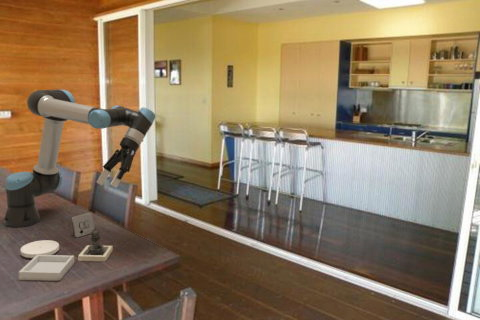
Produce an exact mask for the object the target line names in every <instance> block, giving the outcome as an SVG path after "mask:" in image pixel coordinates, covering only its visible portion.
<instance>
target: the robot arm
mask: <svg viewBox="0 0 480 320" xmlns="http://www.w3.org/2000/svg"><path fill="white" fill-rule="evenodd" d="M26 106H27V109H28V110H29V111H30V112H31V113H32V114H34V115H35V116H40V117H42V118H43V119H44V120H43V126H42V134H41V139H40V145H39V152H38V158H37V164H35V165H33V168H32V172H31V171H21V172H15V173H12V174H10V175H8V176H7V177H6V178H5V191H6V192H5V195H6V205H7V206H6V207H7V208H6V212H5V215H4V218H3V219H4V220H3V223H4V224H3V225H4V226H6V227H8V228H9V227H10V228H23V227H30V226H33V225H35V224H38V223H39V222H40V221H41V218H40V217H41V216H40V213H39V211H38V209H37V206H36V200H35V198H37V197H40V196H43V195H46V194H51V193H53V192H56V191H57V190H59V189H60V188H61V186H62V183H63V177H62V173H61V172H60V169H59V167H57V166H58V165H57V164H58V160H59V159H58V158H59V153H60V148H61V147H60V146H61V141H62V134H63V129H64V125H65V122H67V121H68V120H69V121H72V122H76V123H80V124H85V125H89V126H91V128H93V129H96V130H97V129H100V130H101V129H106V128H113V127H119V126H125V127H128V129H127V130H126V132H125V134H124V137H122V139H121V141H120V143H119V146H120V147H121V148H120V149H118V148H117V149H116V150H115V151H114V153H113V154H111V157H109V159H108V160H107V161H106V162H105V163H104V164H103V166H102V168H103V170H102V172H101V174H100V175H99V177H98V178H97V180H96V183H97V184H98V185H100V186H104V184H105V182H106V180H107V179H108V177H109V175H110V173H112V169H114V168H115V167H116V166H117V165H118V164H119V163H120V167H119V168H118V170H117V172H116V173H115V176H114V177H113V178H112V181H111V182H110V184H109V185H110V186H112V187H114V188H116V189H118V186H119V184H120V183H121V181H122V179H123V178H124V175H125V174H126V173H129V172H130V171H131V167H132V164H133V160H134V157H135V156H136V153H137V151H138V150H139V148H140V146H141V144H142V143H143V142H144V139H145V137H146V135H147V133H148V132H149V130H150V129H151V127H152V125H153V124H154V121H155V119H156V114H155V112H153V110H152V109H150V108H148V107H140V109H139V110H134V109H130V108H128V107H125V106H121V105H113V107H111V108H99V107H95V106H90V105H86V104H80V103H76V100H75V97H74V96H73V94H72V93H71V92H70V91H69V90H66V89H37V90H35V91H33V92H31V93H30V94H29V96H28V97H27V100H26Z"/></svg>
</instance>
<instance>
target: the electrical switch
mask: <svg viewBox="0 0 480 320" xmlns="http://www.w3.org/2000/svg"><path fill="white" fill-rule="evenodd" d="M70 222H71V228H72V233H73V236H75V238H80V237H83V236H87V235H92V234H91V232H92V230H94V228H95V224H94V219H93V214H92V212H87V213H83V214H79V215H75V216H72V218H70Z"/></svg>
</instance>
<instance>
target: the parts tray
mask: <svg viewBox="0 0 480 320" xmlns="http://www.w3.org/2000/svg"><path fill="white" fill-rule="evenodd" d="M74 264H75V255H67V254H66V255H64V254H63V255H59V254H58V255H57V254H56V255H55V254H52V255H36V256H35V257H34V258H31V260H30V261H29V262H27V263H26V264H25V265H24V266H23V267H22V268H21V269H20V270H18V279H19V281H46V282H47V281H49V282H53V281H55V282H60V281H61V280H62V279H63V278H64V276H65V275H66V274H67V273H68V271H69V270H71V268H72V267H73V265H74Z"/></svg>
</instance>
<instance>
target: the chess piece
mask: <svg viewBox="0 0 480 320" xmlns="http://www.w3.org/2000/svg"><path fill="white" fill-rule="evenodd" d="M90 235H91V237H90V240H91V244H90V245H91V246H89V247H88V249H89V252H88V253H90V254H89V255H104V253H102V252H103V251H102V250H103V247H104V246H105V245H103V244H101V242H100V241H101V237H100V231H99V229H97V228H96V227H94V230H92V232H91V234H90Z"/></svg>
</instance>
